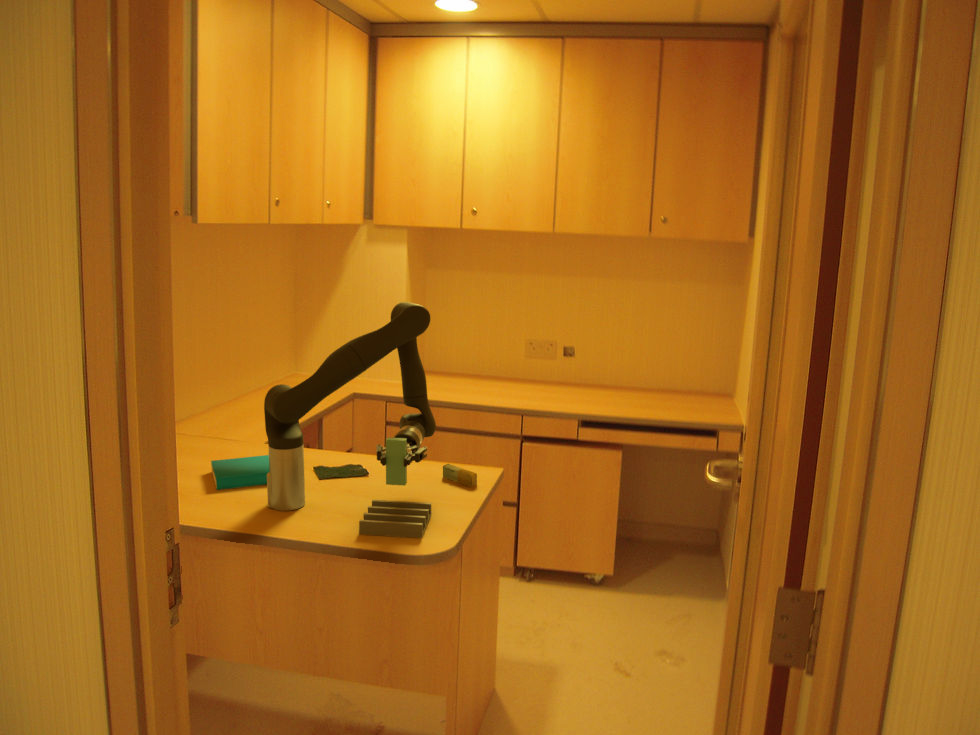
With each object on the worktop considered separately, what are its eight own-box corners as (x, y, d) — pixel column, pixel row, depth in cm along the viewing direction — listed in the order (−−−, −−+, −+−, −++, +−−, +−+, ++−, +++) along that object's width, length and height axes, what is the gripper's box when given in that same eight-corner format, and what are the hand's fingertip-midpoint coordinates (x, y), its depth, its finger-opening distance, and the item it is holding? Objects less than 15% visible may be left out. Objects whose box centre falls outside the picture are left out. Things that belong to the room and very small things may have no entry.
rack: (359, 534, 209) (359, 521, 208) (372, 511, 224) (372, 499, 223) (421, 538, 208) (421, 524, 207) (431, 515, 222) (431, 502, 222)
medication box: (442, 478, 252) (442, 465, 251) (448, 475, 254) (448, 463, 253) (471, 488, 244) (471, 475, 243) (477, 485, 246) (477, 472, 245)
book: (210, 460, 251) (293, 451, 261) (211, 474, 252) (294, 464, 262) (216, 479, 236) (304, 467, 245) (217, 493, 237) (305, 481, 246)
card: (386, 484, 213) (385, 439, 210) (387, 481, 215) (387, 437, 212) (405, 485, 212) (405, 440, 210) (406, 482, 214) (406, 438, 212)
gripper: (380, 427, 226) (366, 447, 209) (433, 430, 225) (422, 449, 208) (381, 454, 227) (366, 475, 211) (432, 456, 226) (422, 478, 210)
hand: (394, 462), depth 210 cm, fingers closed on card, 5 cm apart
